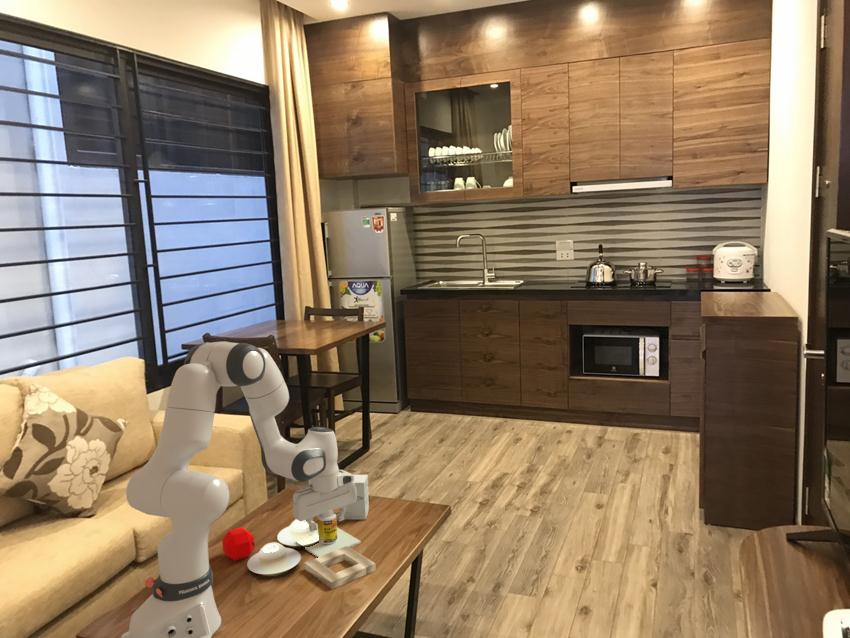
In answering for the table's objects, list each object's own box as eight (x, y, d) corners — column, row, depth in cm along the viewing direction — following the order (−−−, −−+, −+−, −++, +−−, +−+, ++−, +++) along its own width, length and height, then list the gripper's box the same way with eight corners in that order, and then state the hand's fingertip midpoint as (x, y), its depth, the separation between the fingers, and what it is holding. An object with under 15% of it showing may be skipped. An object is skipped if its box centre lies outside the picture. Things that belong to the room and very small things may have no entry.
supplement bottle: (323, 547, 200) (321, 513, 198) (315, 540, 204) (313, 507, 203) (341, 541, 203) (339, 508, 201) (332, 534, 207) (330, 502, 206)
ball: (257, 557, 196) (255, 532, 195) (230, 566, 192) (228, 540, 191) (248, 546, 203) (246, 522, 202) (221, 554, 199) (219, 530, 198)
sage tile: (320, 559, 194) (319, 557, 194) (295, 542, 205) (295, 540, 204) (360, 543, 203) (360, 541, 203) (335, 527, 213) (335, 526, 213)
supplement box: (343, 520, 219) (341, 482, 217) (347, 510, 226) (345, 473, 224) (366, 520, 218) (364, 482, 216) (369, 510, 225) (367, 473, 223)
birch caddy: (332, 589, 178) (331, 582, 178) (304, 569, 189) (304, 562, 188) (375, 570, 187) (375, 563, 186) (347, 552, 197) (347, 545, 197)
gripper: (298, 493, 192) (301, 540, 194) (358, 474, 205) (361, 518, 207) (287, 487, 197) (290, 532, 199) (347, 468, 209) (349, 511, 211)
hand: (326, 525), depth 203 cm, fingers open, 8 cm apart
